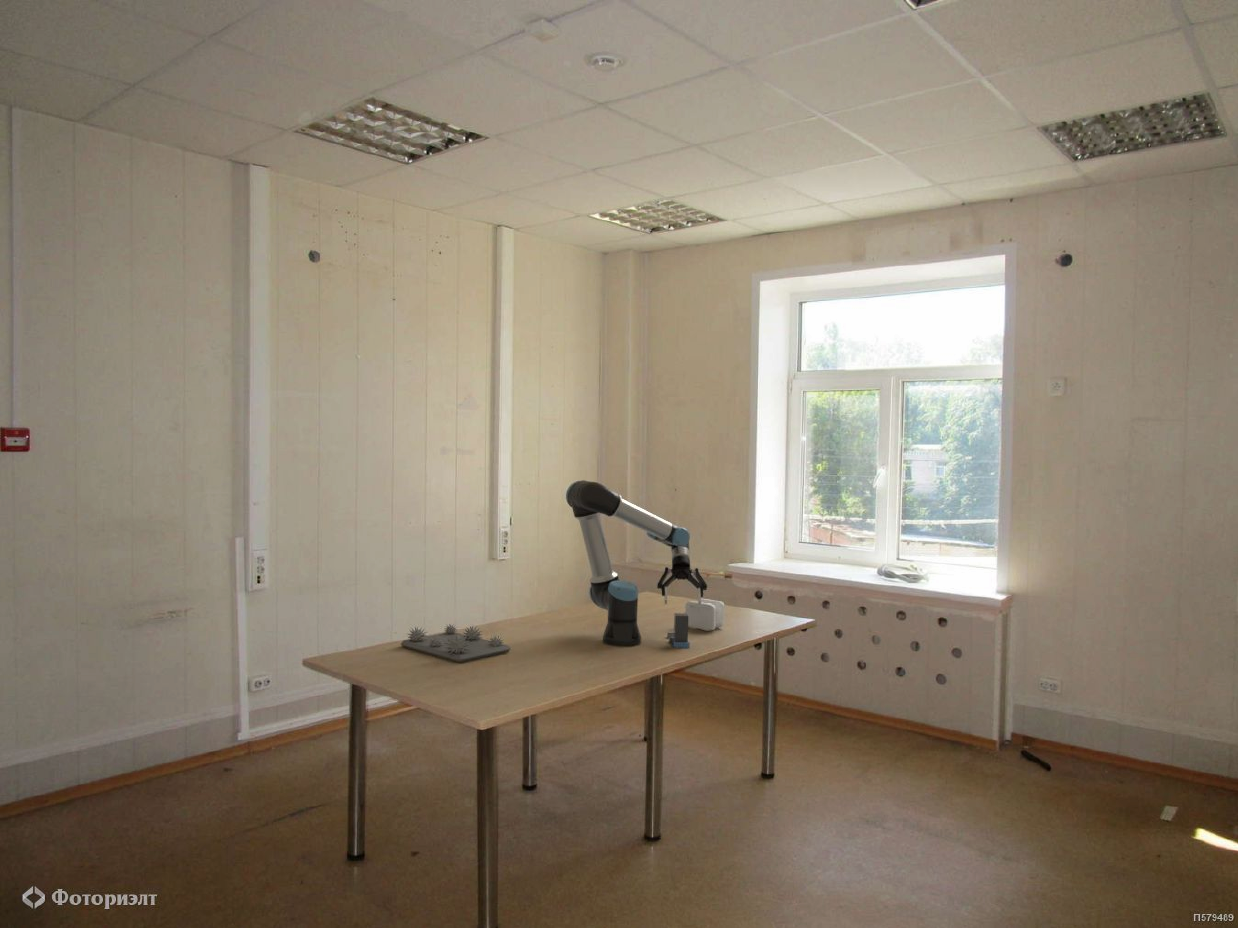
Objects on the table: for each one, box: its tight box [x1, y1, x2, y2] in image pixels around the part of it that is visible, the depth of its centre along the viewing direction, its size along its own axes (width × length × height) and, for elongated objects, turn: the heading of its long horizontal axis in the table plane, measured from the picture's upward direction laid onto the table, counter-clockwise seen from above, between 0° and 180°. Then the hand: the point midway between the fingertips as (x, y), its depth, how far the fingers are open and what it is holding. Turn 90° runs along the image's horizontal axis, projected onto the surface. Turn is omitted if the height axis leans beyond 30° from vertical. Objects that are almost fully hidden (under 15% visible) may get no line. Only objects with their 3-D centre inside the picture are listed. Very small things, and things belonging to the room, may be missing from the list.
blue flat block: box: [671, 637, 691, 649], centre depth 325 cm, size 6×9×2 cm
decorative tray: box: [400, 623, 511, 664], centre depth 306 cm, size 35×26×10 cm
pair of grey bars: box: [666, 631, 674, 643], centre depth 334 cm, size 6×9×2 cm
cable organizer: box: [684, 597, 726, 632], centre depth 358 cm, size 15×11×12 cm
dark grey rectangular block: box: [673, 613, 689, 642], centre depth 325 cm, size 5×5×12 cm
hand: (682, 602), depth 332 cm, fingers open, 13 cm apart
